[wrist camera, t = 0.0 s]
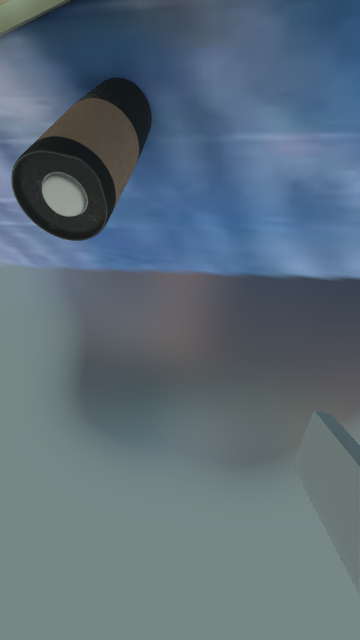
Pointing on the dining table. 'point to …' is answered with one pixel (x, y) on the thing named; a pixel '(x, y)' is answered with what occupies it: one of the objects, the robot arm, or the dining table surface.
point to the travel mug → (84, 161)
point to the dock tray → (23, 12)
